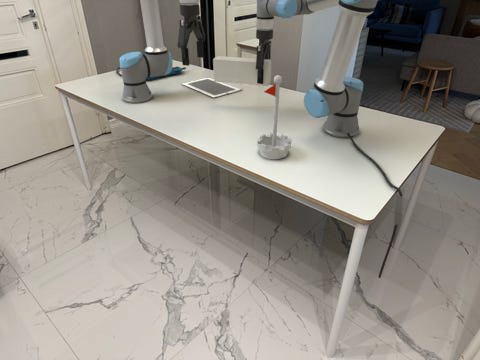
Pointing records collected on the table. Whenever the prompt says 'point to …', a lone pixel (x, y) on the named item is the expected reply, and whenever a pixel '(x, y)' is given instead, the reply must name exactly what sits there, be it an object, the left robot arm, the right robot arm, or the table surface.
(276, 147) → the flag stand
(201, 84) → the tablet
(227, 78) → the box
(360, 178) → the table surface
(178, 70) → the submachine gun
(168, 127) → the table surface
